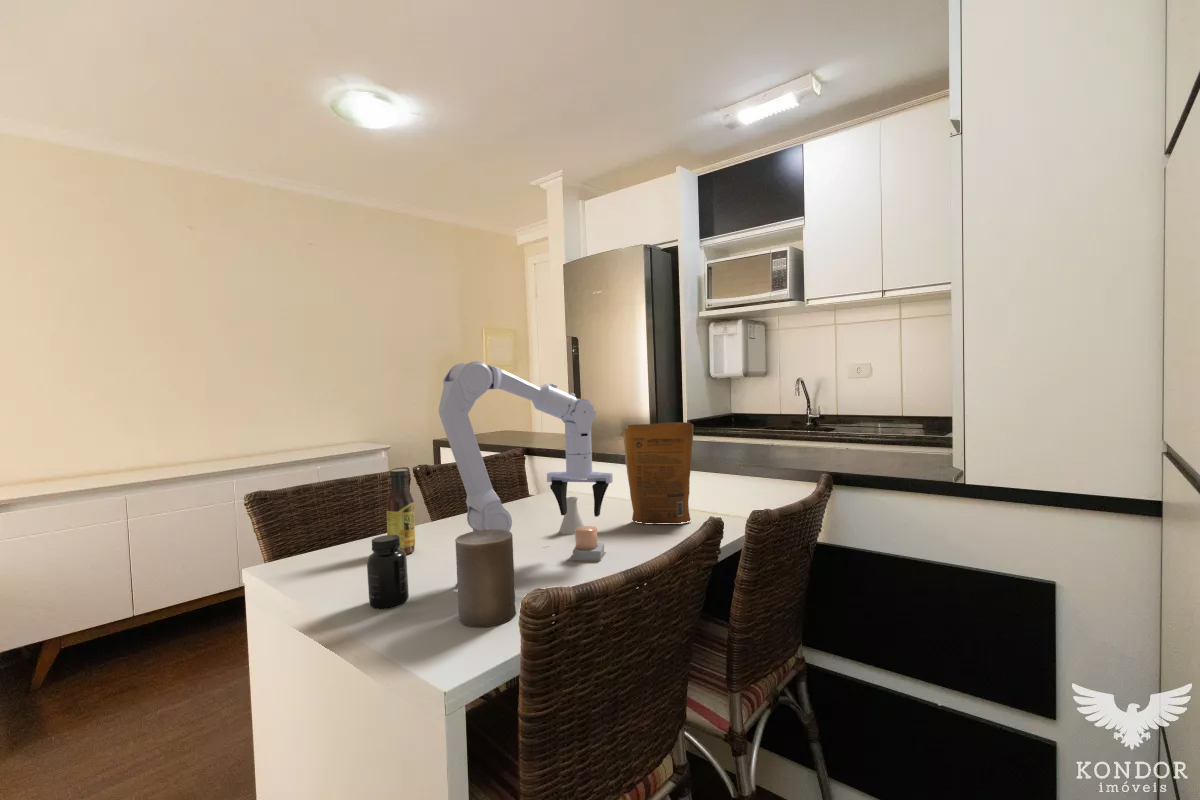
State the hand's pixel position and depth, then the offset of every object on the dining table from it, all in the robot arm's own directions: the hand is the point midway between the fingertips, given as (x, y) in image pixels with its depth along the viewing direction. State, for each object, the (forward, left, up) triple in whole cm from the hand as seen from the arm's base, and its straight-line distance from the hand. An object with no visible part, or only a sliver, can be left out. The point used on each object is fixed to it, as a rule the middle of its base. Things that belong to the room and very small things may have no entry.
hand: (580, 514), depth 122 cm
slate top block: (+1, -2, -9) cm, 9 cm away
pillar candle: (-30, -10, -11) cm, 33 cm away
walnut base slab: (0, -1, -11) cm, 11 cm away
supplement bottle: (-40, +8, -11) cm, 42 cm away
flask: (+11, +18, -11) cm, 24 cm away
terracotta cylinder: (+1, -1, -7) cm, 7 cm away
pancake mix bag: (+36, +10, -11) cm, 39 cm away
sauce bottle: (-26, +37, -11) cm, 46 cm away
